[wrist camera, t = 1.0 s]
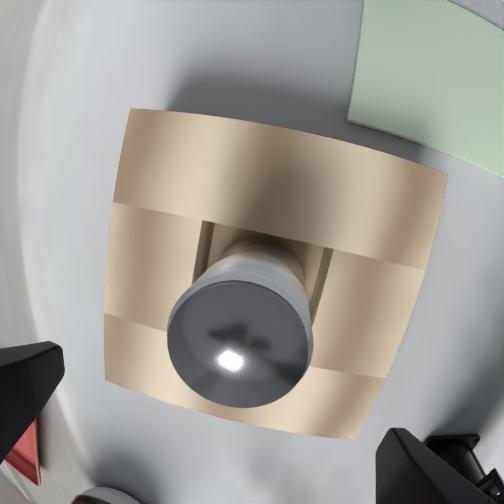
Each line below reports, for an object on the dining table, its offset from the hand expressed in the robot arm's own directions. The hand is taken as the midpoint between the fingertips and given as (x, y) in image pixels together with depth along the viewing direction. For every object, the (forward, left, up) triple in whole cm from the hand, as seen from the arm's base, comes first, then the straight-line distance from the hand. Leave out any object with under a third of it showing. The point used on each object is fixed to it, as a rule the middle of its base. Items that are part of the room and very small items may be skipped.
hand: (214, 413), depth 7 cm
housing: (0, 0, -12) cm, 12 cm away
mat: (-9, -16, -12) cm, 22 cm away
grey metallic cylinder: (0, 0, -11) cm, 11 cm away
